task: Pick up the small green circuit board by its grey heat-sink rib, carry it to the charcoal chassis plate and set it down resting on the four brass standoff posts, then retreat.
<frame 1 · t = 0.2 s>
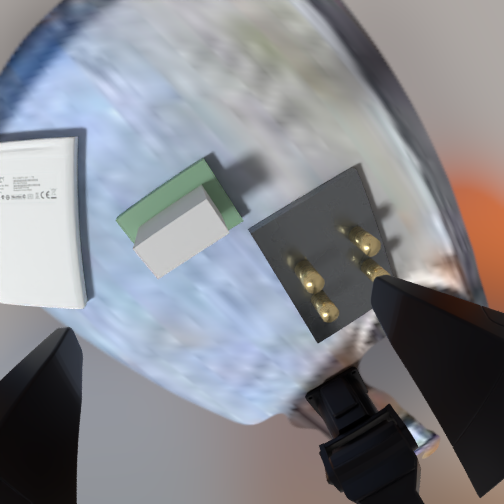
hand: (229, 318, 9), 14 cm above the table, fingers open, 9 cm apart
board: (179, 215, 22), on the table
external hard drive: (33, 222, 19), on the table
chassis: (333, 262, 26), on the table
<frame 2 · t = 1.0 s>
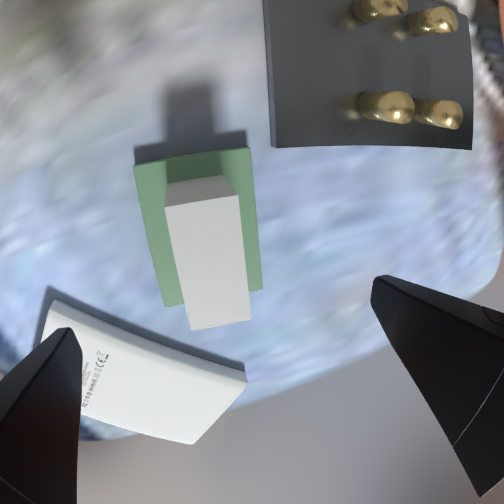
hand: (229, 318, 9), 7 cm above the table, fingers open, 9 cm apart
board: (201, 225, 15), on the table
external hard drive: (131, 376, 19), on the table
chassis: (386, 62, 13), on the table
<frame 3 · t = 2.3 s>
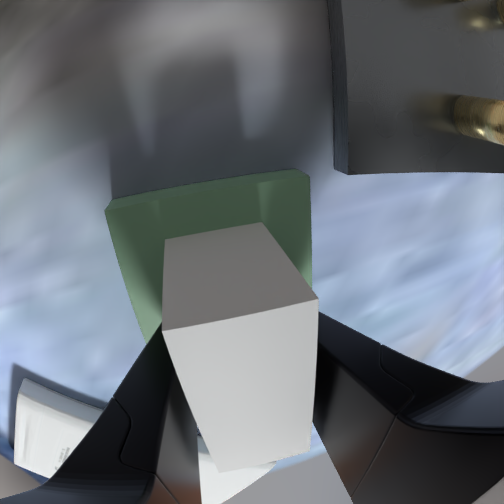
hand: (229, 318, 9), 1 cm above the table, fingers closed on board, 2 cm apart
board: (222, 294, 10), on the table, touching gripper
external hard drive: (132, 452, 14), on the table
chassis: (475, 57, 8), on the table
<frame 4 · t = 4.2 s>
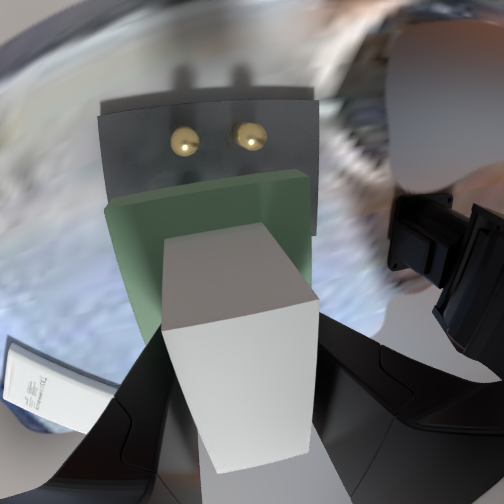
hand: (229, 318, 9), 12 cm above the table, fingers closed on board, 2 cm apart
board: (221, 294, 10), point 11 cm above the table, touching gripper
external hard drive: (66, 391, 24), on the table
chassis: (214, 175, 19), on the table
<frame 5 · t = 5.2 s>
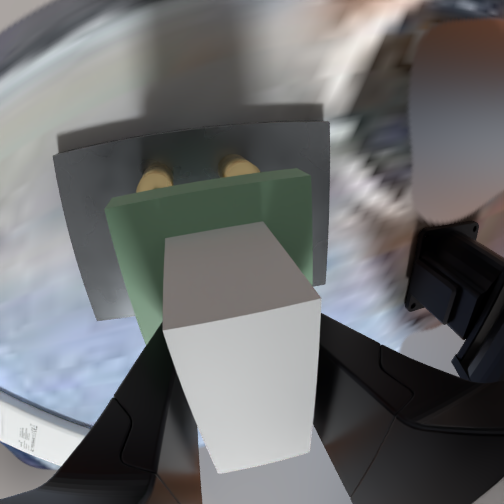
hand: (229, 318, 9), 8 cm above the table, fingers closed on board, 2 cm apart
board: (222, 294, 10), point 7 cm above the table, touching gripper
external hard drive: (60, 434, 21), on the table
chassis: (200, 220, 16), on the table
when the fingers open (6 cm above the table, at t = 5.8 s): board stays where it is, resting on chassis.
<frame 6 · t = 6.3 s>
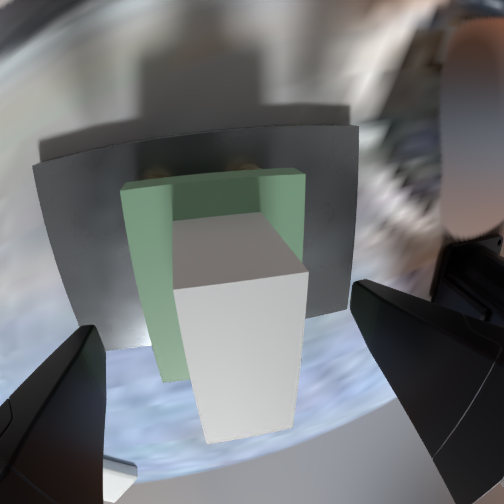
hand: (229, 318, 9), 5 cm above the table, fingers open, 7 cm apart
board: (218, 278, 11), point 3 cm above the table, touching chassis
external hard drive: (58, 457, 19), on the table
chassis: (207, 240, 13), on the table
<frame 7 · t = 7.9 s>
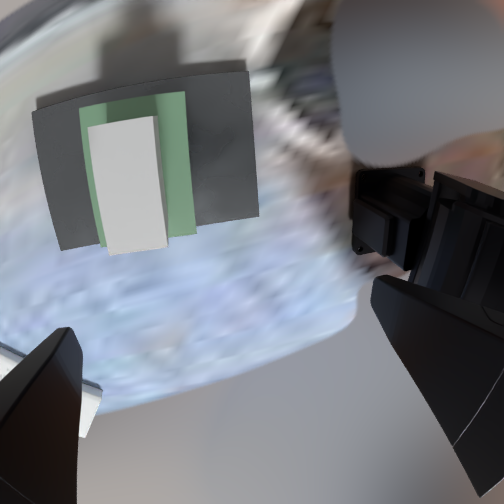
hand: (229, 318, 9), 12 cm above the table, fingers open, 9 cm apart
board: (139, 168, 15), point 3 cm above the table, touching chassis
external hard drive: (36, 385, 23), on the table
chassis: (144, 158, 18), on the table
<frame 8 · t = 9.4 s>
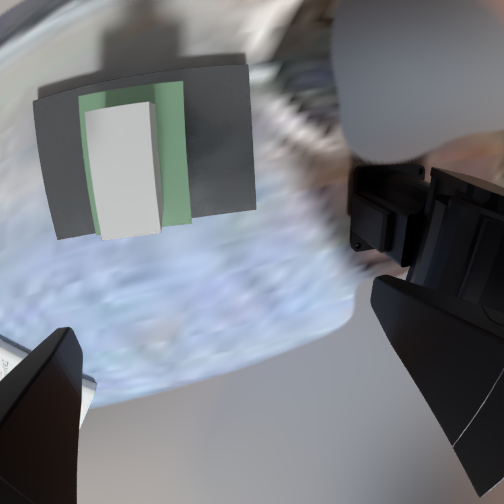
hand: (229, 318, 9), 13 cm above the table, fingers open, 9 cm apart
board: (136, 156, 15), point 3 cm above the table, touching chassis
external hard drive: (31, 377, 23), on the table
chassis: (142, 149, 18), on the table
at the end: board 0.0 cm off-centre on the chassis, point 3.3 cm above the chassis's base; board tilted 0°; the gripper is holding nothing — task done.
